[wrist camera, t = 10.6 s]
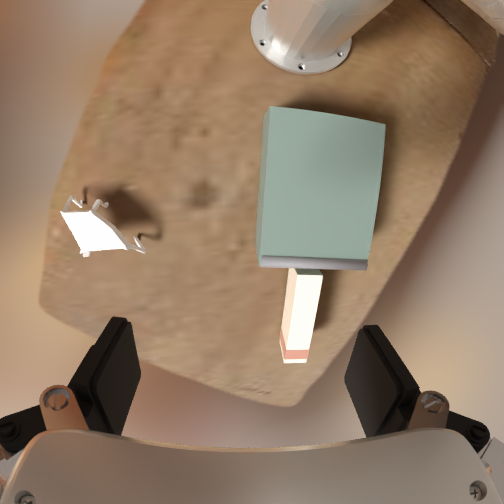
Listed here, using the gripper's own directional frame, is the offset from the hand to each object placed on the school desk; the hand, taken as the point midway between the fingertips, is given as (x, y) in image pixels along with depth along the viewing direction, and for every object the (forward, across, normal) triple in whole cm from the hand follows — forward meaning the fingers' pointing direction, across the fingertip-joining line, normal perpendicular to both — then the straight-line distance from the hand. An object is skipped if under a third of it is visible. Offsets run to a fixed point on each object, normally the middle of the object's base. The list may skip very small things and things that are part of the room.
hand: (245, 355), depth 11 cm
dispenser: (+26, -8, -4) cm, 28 cm away
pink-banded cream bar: (+25, -8, +12) cm, 29 cm away
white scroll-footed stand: (+27, +17, +2) cm, 32 cm away
